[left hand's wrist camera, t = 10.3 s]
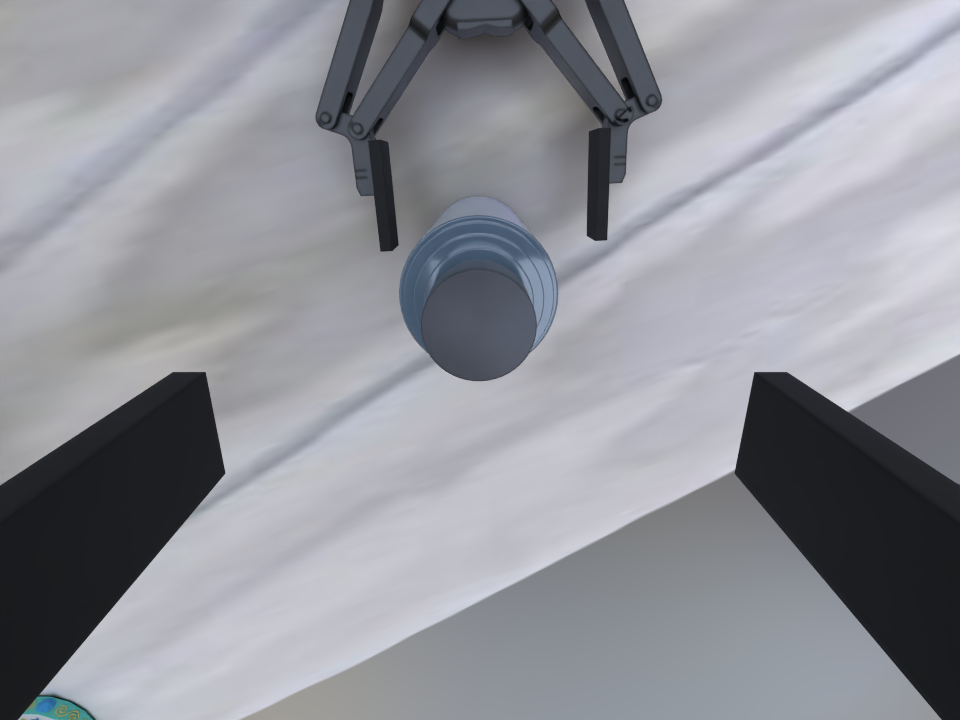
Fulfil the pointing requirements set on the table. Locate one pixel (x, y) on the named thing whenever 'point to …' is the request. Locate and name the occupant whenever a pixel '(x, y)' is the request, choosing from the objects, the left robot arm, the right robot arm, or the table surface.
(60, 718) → the decorative hourglass
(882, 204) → the table surface
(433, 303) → the cap
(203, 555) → the table surface
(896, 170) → the table surface
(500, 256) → the bottle
